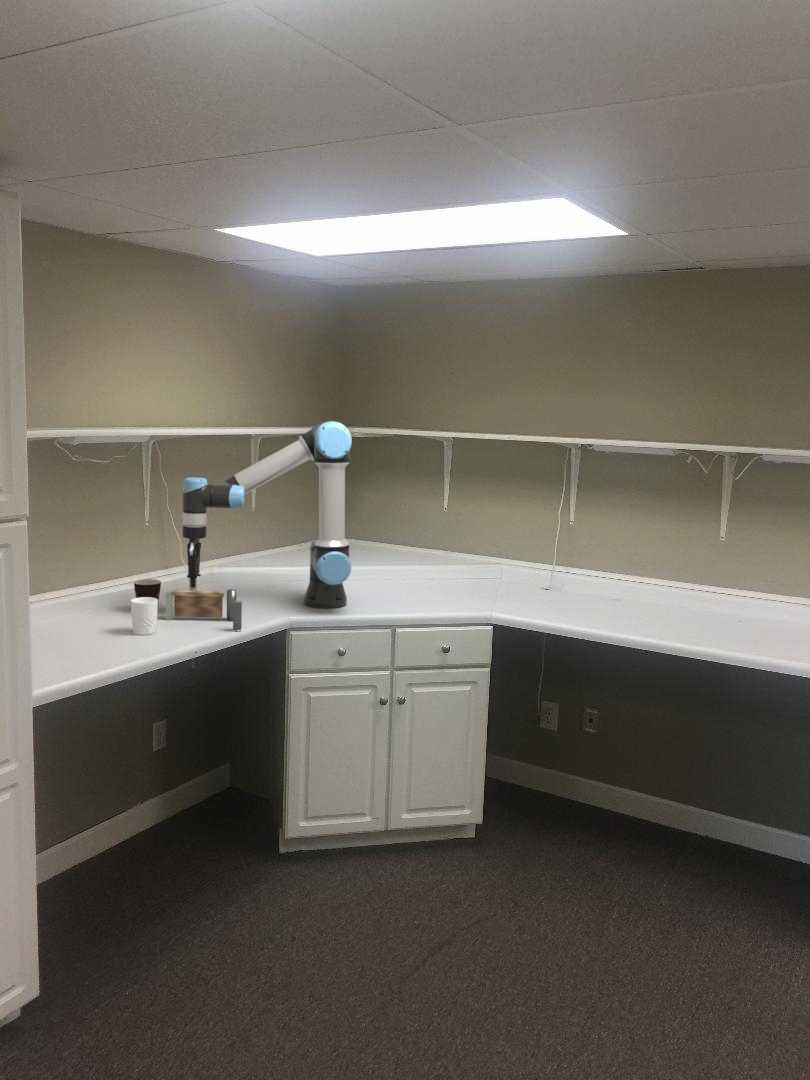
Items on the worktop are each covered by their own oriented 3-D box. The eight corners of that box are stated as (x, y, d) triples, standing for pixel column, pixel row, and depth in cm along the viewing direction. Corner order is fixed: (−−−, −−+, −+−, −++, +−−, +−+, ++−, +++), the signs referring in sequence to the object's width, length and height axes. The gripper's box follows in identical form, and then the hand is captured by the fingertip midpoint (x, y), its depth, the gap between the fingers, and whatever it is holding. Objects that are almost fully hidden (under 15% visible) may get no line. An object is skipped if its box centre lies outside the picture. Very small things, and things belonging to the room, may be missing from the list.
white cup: (132, 636, 256) (132, 603, 254) (129, 629, 263) (129, 597, 261) (159, 634, 259) (159, 602, 257) (156, 628, 266) (156, 596, 265)
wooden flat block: (224, 616, 280) (224, 591, 279) (223, 618, 278) (223, 593, 276) (173, 615, 279) (173, 590, 277) (172, 616, 276) (172, 591, 275)
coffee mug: (153, 615, 281) (153, 585, 279) (129, 613, 282) (128, 583, 281) (169, 607, 292) (170, 578, 290) (146, 605, 294) (146, 576, 292)
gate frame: (245, 619, 281) (246, 589, 280) (240, 631, 267) (241, 599, 265) (167, 617, 279) (168, 587, 277) (158, 629, 264) (158, 597, 263)
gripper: (186, 522, 286) (185, 591, 290) (179, 527, 274) (178, 600, 277) (209, 523, 287) (208, 592, 291) (203, 528, 274) (202, 601, 278)
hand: (193, 596), depth 284 cm, fingers closed
